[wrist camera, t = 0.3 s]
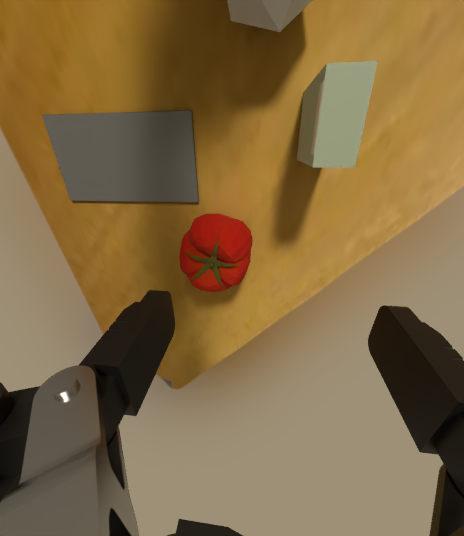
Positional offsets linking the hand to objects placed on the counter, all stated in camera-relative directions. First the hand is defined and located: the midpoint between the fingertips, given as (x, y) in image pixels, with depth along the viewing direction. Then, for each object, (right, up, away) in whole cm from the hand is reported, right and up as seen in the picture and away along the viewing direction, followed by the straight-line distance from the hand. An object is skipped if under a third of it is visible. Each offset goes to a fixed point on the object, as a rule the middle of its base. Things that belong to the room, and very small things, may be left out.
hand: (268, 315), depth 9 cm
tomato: (-3, +6, +27) cm, 28 cm away
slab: (+9, +19, +19) cm, 28 cm away
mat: (-16, +17, +23) cm, 33 cm away
